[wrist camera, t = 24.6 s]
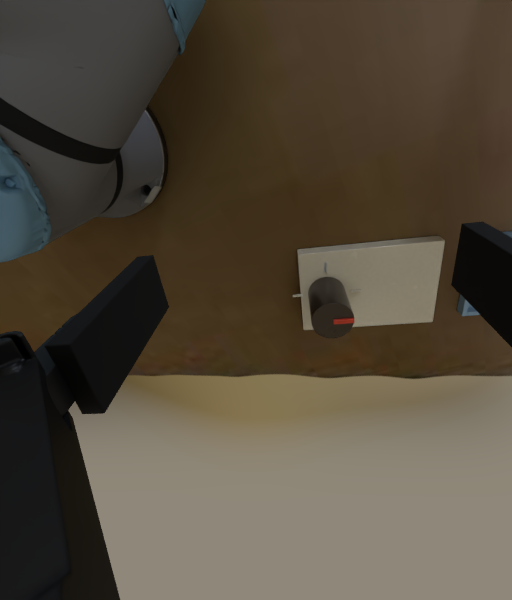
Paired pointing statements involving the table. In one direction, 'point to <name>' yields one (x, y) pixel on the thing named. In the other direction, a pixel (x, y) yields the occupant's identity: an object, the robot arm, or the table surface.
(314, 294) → the knob
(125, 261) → the table surface
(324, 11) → the table surface
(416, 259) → the dial control panel
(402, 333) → the table surface
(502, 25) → the table surface
